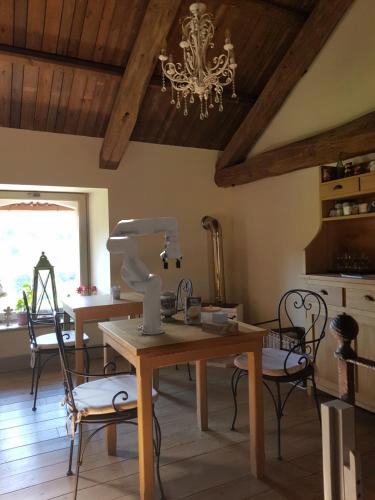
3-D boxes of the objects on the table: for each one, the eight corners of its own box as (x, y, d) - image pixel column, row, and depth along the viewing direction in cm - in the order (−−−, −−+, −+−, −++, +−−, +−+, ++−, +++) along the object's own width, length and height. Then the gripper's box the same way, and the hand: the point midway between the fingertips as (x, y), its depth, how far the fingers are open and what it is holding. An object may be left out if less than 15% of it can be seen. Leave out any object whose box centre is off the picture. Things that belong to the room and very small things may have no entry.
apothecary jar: (162, 318, 250) (162, 290, 250) (180, 318, 246) (179, 290, 246) (155, 321, 238) (154, 292, 238) (173, 322, 235) (173, 292, 235)
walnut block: (220, 336, 199) (219, 326, 199) (201, 331, 209) (201, 322, 209) (238, 331, 208) (238, 322, 208) (220, 327, 218) (219, 319, 218)
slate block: (221, 323, 205) (220, 314, 205) (212, 322, 209) (212, 313, 209) (228, 322, 209) (227, 312, 209) (219, 320, 213) (219, 311, 213)
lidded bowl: (210, 326, 219) (210, 307, 219) (196, 324, 229) (195, 305, 228) (226, 323, 227) (225, 304, 227) (211, 320, 237) (211, 302, 237)
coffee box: (185, 324, 226) (186, 297, 226) (184, 322, 232) (184, 295, 232) (201, 324, 227) (201, 297, 227) (199, 322, 233) (199, 295, 233)
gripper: (164, 239, 217) (165, 269, 218) (186, 239, 230) (187, 267, 230) (155, 239, 223) (156, 269, 223) (177, 239, 235) (178, 267, 235)
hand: (172, 268), depth 226 cm, fingers open, 9 cm apart
